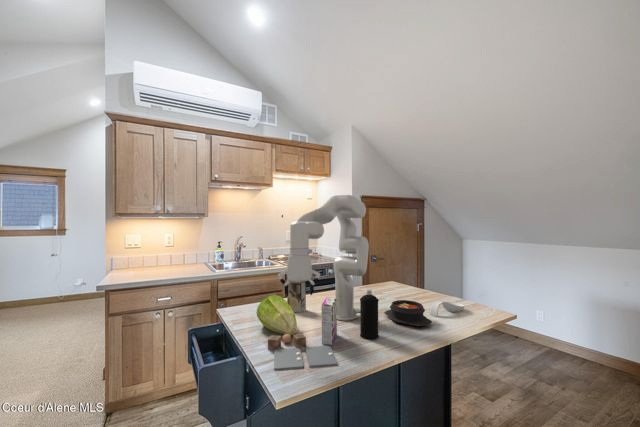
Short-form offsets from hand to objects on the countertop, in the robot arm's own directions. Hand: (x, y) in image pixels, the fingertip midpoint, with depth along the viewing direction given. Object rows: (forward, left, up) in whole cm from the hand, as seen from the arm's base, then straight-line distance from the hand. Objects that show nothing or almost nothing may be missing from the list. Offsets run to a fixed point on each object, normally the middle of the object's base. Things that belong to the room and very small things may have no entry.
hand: (299, 294), depth 114 cm
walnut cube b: (+10, 0, -21) cm, 23 cm away
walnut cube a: (0, 0, -21) cm, 21 cm away
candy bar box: (-13, -4, -21) cm, 25 cm away
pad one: (-7, +10, -20) cm, 24 cm away
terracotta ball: (+5, -3, -19) cm, 20 cm away
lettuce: (+8, -18, -21) cm, 28 cm away
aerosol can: (-31, -5, -21) cm, 38 cm away
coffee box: (-2, -44, -21) cm, 49 cm away
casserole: (-56, -20, -21) cm, 63 cm away
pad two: (+5, +10, -20) cm, 23 cm away
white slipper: (-84, -29, -21) cm, 91 cm away
